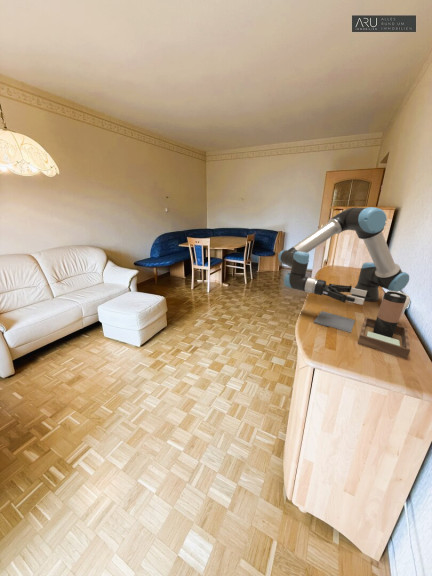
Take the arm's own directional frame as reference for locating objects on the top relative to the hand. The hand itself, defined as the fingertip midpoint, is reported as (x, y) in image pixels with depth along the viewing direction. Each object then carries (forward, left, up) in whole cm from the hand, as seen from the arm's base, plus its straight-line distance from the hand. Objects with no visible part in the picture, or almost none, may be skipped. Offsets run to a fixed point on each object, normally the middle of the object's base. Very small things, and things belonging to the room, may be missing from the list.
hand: (365, 297), depth 101 cm
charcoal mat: (+4, -8, -16) cm, 18 cm away
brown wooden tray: (-1, +11, -16) cm, 19 cm away
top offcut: (+4, +14, -14) cm, 20 cm away
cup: (-24, 0, -16) cm, 29 cm away
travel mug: (-5, +9, -16) cm, 19 cm away
